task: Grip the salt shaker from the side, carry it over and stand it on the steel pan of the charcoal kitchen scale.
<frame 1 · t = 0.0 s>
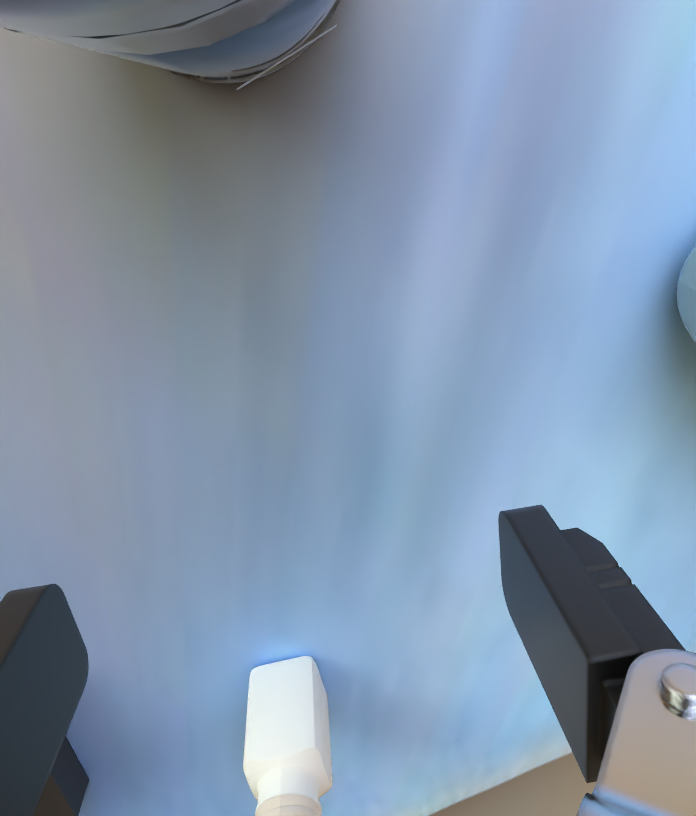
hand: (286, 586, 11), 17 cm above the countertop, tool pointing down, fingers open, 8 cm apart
salt shaker: (288, 676, 37), on the countertop
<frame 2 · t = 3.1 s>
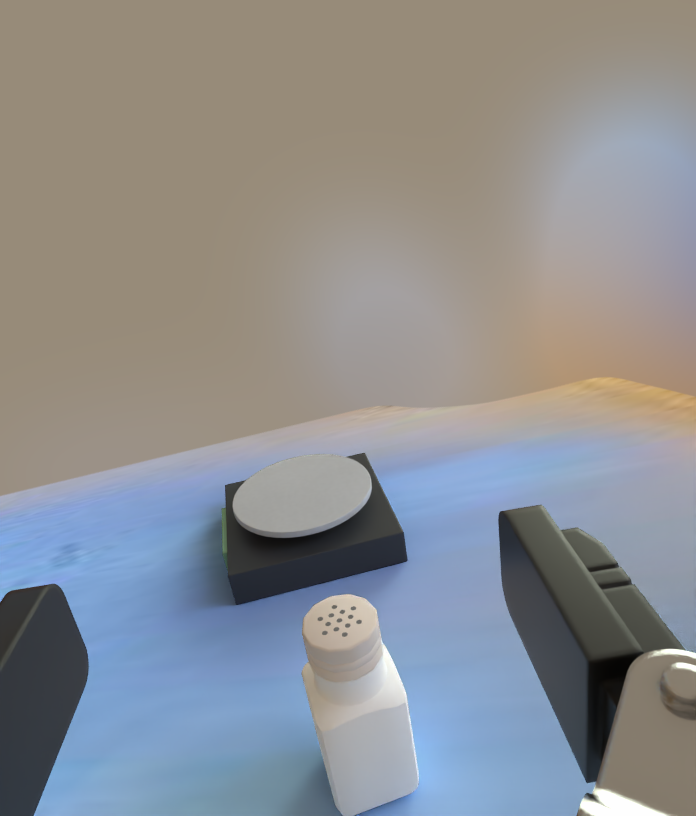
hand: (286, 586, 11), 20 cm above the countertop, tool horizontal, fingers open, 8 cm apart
scale: (311, 532, 47), on the countertop
salt shaker: (370, 773, 29), on the countertop
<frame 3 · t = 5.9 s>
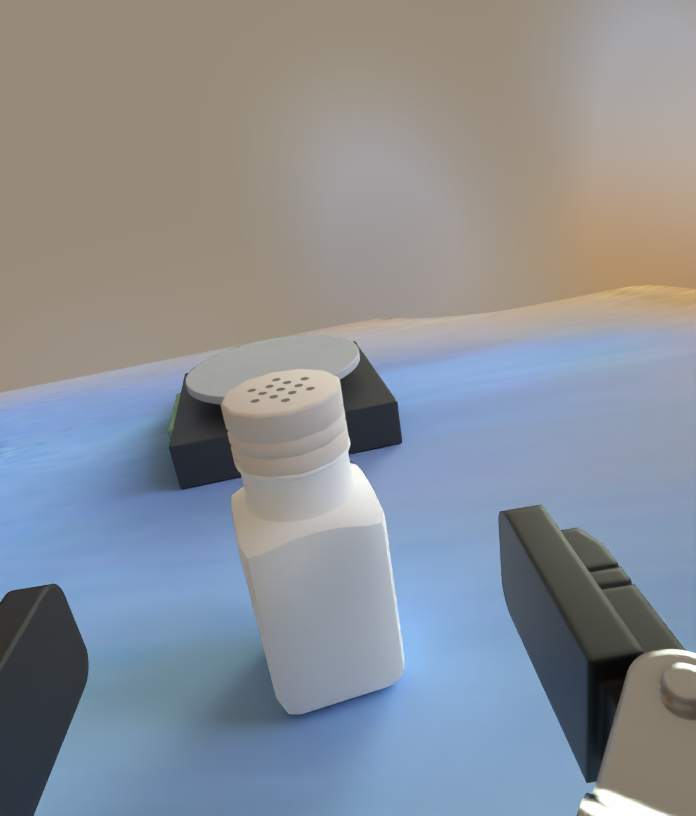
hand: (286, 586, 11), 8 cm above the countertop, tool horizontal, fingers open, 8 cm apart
scale: (284, 422, 38), on the countertop
salt shaker: (335, 664, 20), on the countertop
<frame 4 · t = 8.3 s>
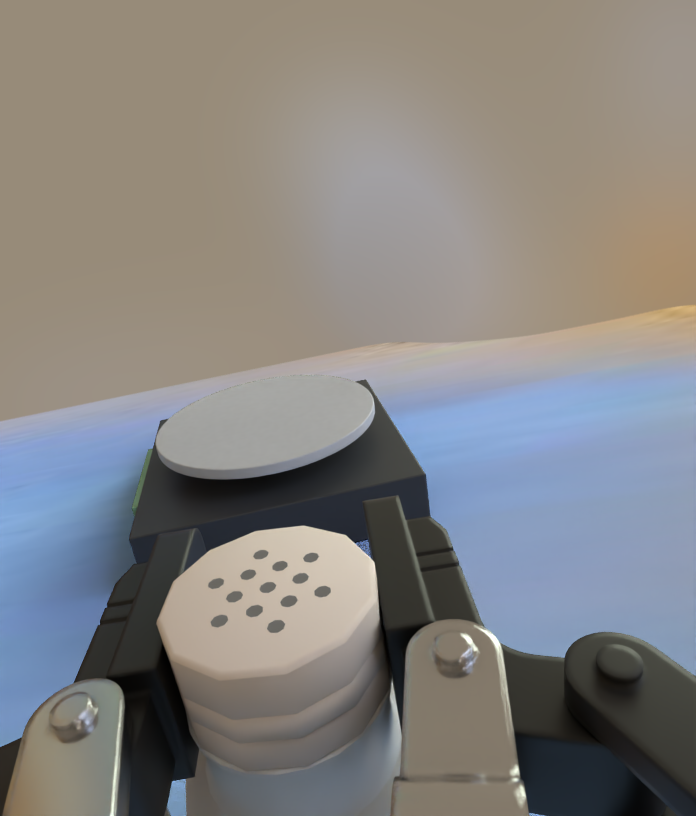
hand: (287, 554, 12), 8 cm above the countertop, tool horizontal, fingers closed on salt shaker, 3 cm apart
scale: (281, 486, 31), on the countertop
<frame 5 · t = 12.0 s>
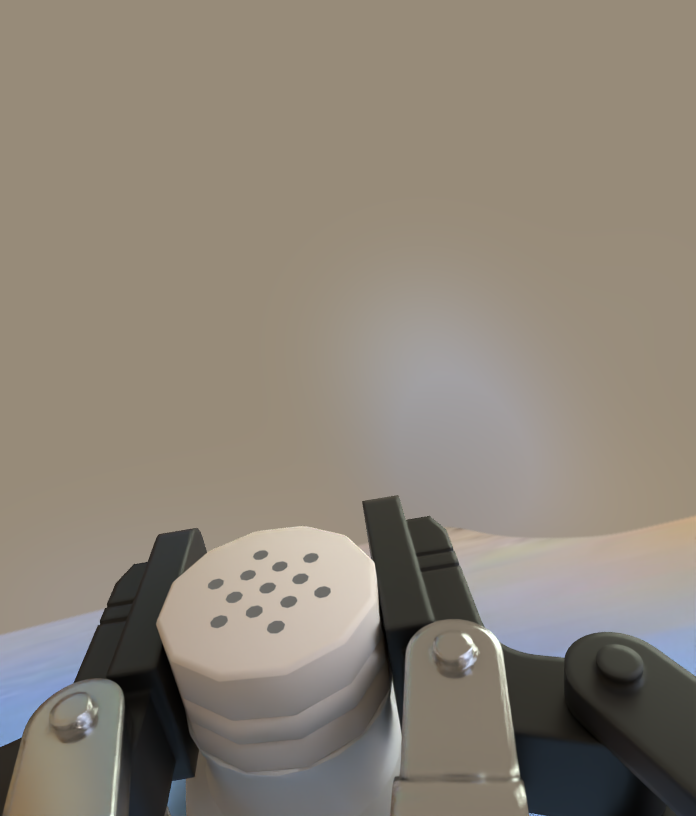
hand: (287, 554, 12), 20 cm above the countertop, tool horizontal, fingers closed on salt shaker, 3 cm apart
when the fingers open (12 cm above the countertop, at t = 15.6 s): salt shaker stays where it is, resting on scale.
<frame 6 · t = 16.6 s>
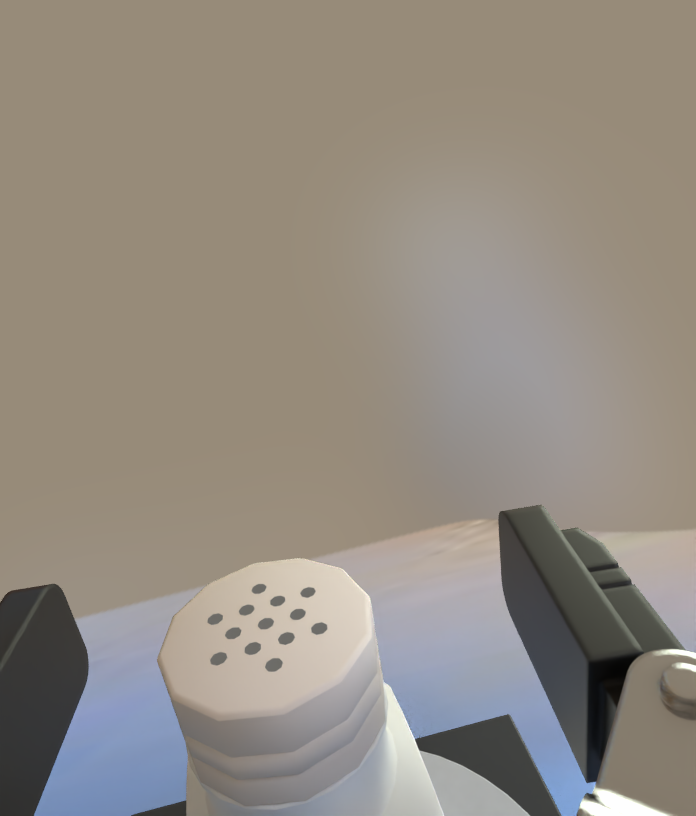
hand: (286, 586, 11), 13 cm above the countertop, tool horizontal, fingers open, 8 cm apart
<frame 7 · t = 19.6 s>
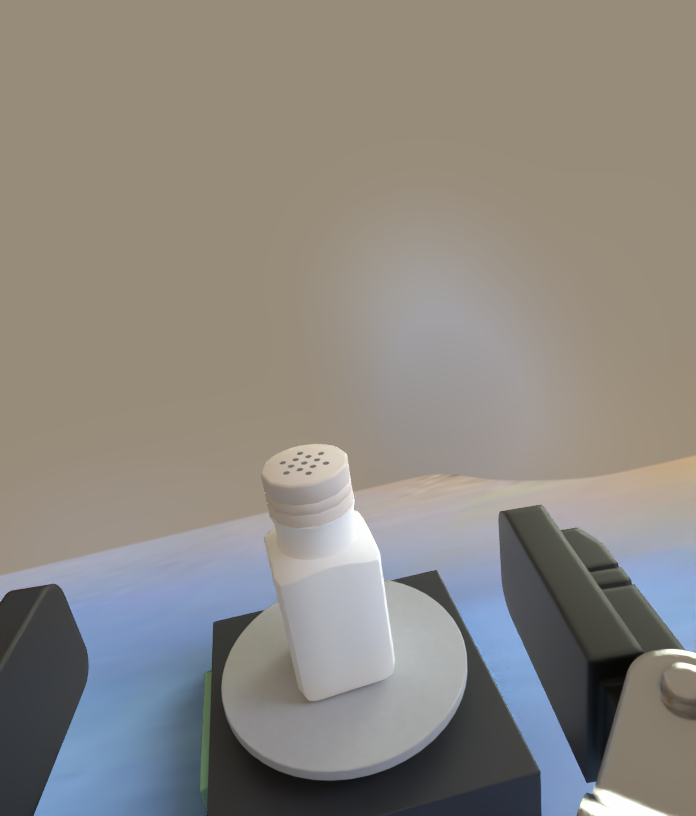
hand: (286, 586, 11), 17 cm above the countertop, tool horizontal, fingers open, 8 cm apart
scale: (355, 723, 28), on the countertop
salt shaker: (341, 663, 26), point 4 cm above the countertop, touching scale
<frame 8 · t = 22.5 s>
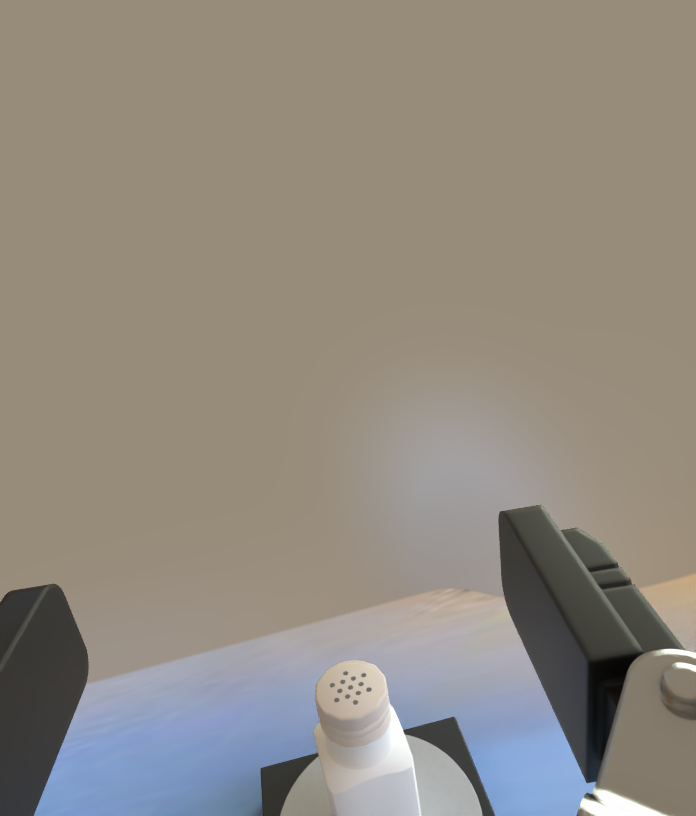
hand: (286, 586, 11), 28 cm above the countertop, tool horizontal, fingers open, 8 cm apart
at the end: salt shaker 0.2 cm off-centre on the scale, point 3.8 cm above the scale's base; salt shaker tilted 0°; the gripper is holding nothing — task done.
